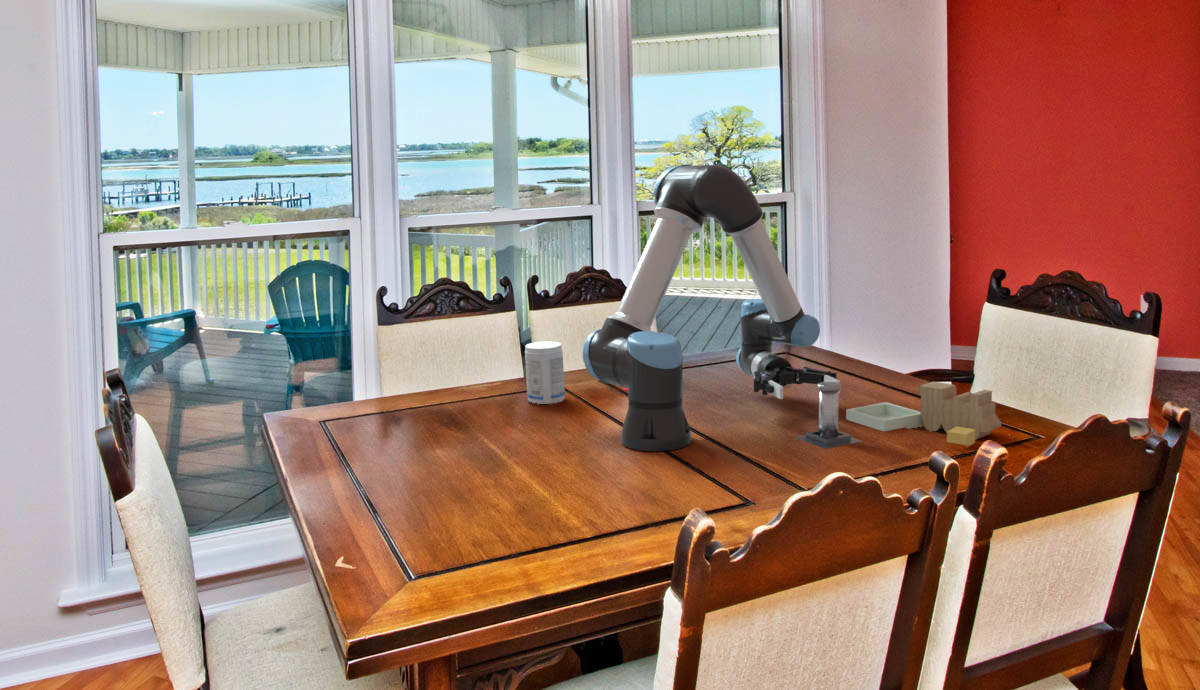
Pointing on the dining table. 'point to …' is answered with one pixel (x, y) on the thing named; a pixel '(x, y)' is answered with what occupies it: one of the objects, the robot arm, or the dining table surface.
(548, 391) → the supplement tub
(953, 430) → the tan rectangular block
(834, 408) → the pin
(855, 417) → the tray
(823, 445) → the collar plate
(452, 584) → the dining table surface
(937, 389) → the toy train
